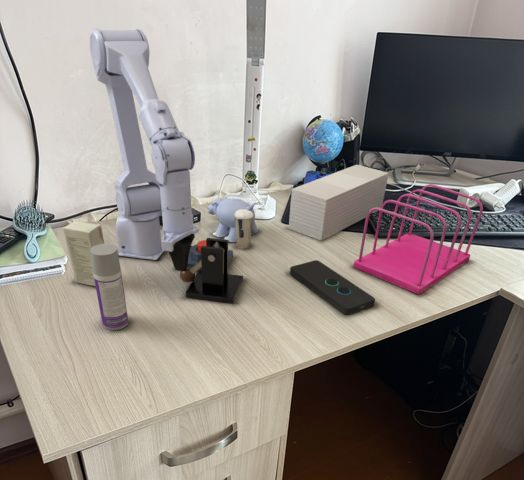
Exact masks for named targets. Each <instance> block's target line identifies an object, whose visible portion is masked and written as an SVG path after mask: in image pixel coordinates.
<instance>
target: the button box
mask: <svg viewBox="0 0 524 480" xmlns="http://www.w3.org/2000/svg"><path fill="white" fill-rule="evenodd" d="M233 258H234V250H229V249H228V268H229V267H230V265H231V263H232V260H233ZM199 261H201V253H200V252H198V250H197V243H196V244H194V245H191V248H190V252H189V258H188V264H187V267H189V268H192V267H193V266H195V265H196V264H197V263H198V262H199ZM199 270H200V271H202V267H201V268H200V269H199ZM199 270H197V271H196V272H198V271H199Z"/></svg>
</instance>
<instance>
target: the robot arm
mask: <svg viewBox="0 0 524 480" xmlns="http://www.w3.org/2000/svg"><path fill="white" fill-rule="evenodd" d="M89 52H90V56H91V60H92V61H91V62H92V65H93V70H94V71H93V72H94V74H95V76H96V81H98V82H100V83H102V84H104V85H105V88H106V92H107V95H108V99H109V100H108V101H109V105H110V110H111V114H112V118H113V122H114V127H115V132H116V137H117V142H118V147H119V151H120V156H121V161H122V166H123V170H124V171H123V172H122V173H121V174H120V175H119V176H118V178H116V180H115V182H114V191H115V204H116V207H117V209H118V213H119V214H118V216H117V218H116V224H115V231H116V239H117V247H118V256H120V257H126V258H127V257H128V258H136V259H143V260H151V261H157V260H159V258H160V257H161V256H162V255H163V253H164V252H167V253H168V254H169V256H170V260H171V262H172V265H173V268H174V270H175V271H178V272H179V271H180V272H181V271H185V269H186V268H187V264H188V258H189V252H190V248H191V246H193V242H194V240H195V237H196V236H195V235H197V234H198V233H199V227H198V226H194V215H193V210H192V194H191V193H192V192H191V191H192V189H191V174H190V171H192V170H193V169H194V167H195V163H196V154H195V150H194V146H193V144H192V141H191V139H190V137H188V136H187V135H185V133H184V132H183V131H180V130H179V128H178V126H177V123H176V121H175V119H174V117H173V113H172V112H171V110H170V107H169V105H168V104H167V103H166V102H165V101H163V100H160V99H159V96H158V93H157V90H156V88H155V87H156V86H155V84H154V81H153V79H152V75H151V73H150V70H149V69H150V68H149V64H150V46H149V41H148V38H147V36H146V34H145V33H144V31H143V30H142V29H139V28H136V29H99V28H93V29H92V30H91V32H90V34H89ZM134 97H135V98H134ZM135 99H136V101H137V103H138V105H139V106H140V109H139V112H138V114H137V108H136V104H135ZM138 118H139V120H138ZM139 121H140V123H141V125H142V128H143V130H144V133H145V135H146V137H147V139H148V142H149V144H150V146H151V149H150V151H151V152H150V158H151V162H152V165H153V168H154V172H153V171H151V170H150V169H148V166H147V160H146V155H145V150H144V145H143V140H142V133H141V129H140V125H139V124H140V123H139ZM146 183H147V184H146ZM139 184H141V185H139ZM160 217H162V218H161V219H162V228H161V224H160ZM161 231H162V236H161Z"/></svg>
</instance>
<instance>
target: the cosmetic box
mask: <svg viewBox="0 0 524 480" xmlns="http://www.w3.org/2000/svg"><path fill="white" fill-rule="evenodd" d="M62 230H63V235H64V238H65V243H66V247H67V251H68V256H69V259H70V264H71V268H72V269H71V270H72V273H73V277H74V281H75V283H77V284H81V285H82V284H83V285H87V286H91V287H96V286H95V281H94V275H93V268H92V261H91V255H90V249H91V248H92V247H93V246H95V245H99V244H105V239H104V234H103V228H102V224H98V223H92V222H87V221H81V220H75V221H73V222H71V223H69V224H66V225H65V226H63V227H62Z"/></svg>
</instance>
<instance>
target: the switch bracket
mask: <svg viewBox="0 0 524 480" xmlns="http://www.w3.org/2000/svg"><path fill="white" fill-rule="evenodd" d="M205 240H206V246H202V247H201V264H202V271H200V270H199V271H196V273H195V279H194V280H193V281H192V282H190V284H189V286H188V288H187V289H186V291H185V298H186V299H194V300H202V301H208V302H217V303H226V304H235V301H236V299H237V297H238V294H239V292H240V289H241V287H242V284H243V282H244V275H239V274H232V273H229V267H228V250H229V241H228V240H225V239H224V238H214V237H206V239H205ZM216 242H218V243H219V244H220V245H221V246H222V247H223V248H217V247H211V246H212V245H213V244H214V243H216ZM224 250H225V251H224Z"/></svg>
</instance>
